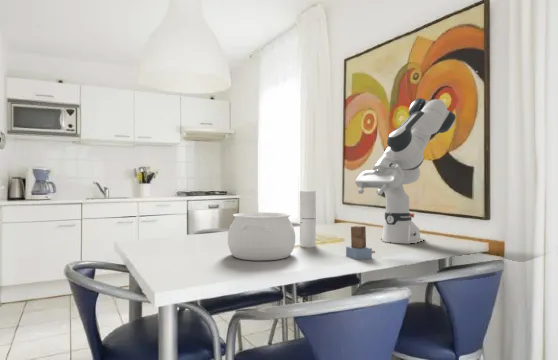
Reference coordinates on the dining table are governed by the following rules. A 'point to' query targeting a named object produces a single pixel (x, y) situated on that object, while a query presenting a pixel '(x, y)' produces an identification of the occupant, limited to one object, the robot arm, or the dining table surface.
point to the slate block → (358, 252)
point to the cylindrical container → (308, 218)
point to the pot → (261, 236)
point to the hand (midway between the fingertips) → (369, 193)
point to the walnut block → (358, 237)
